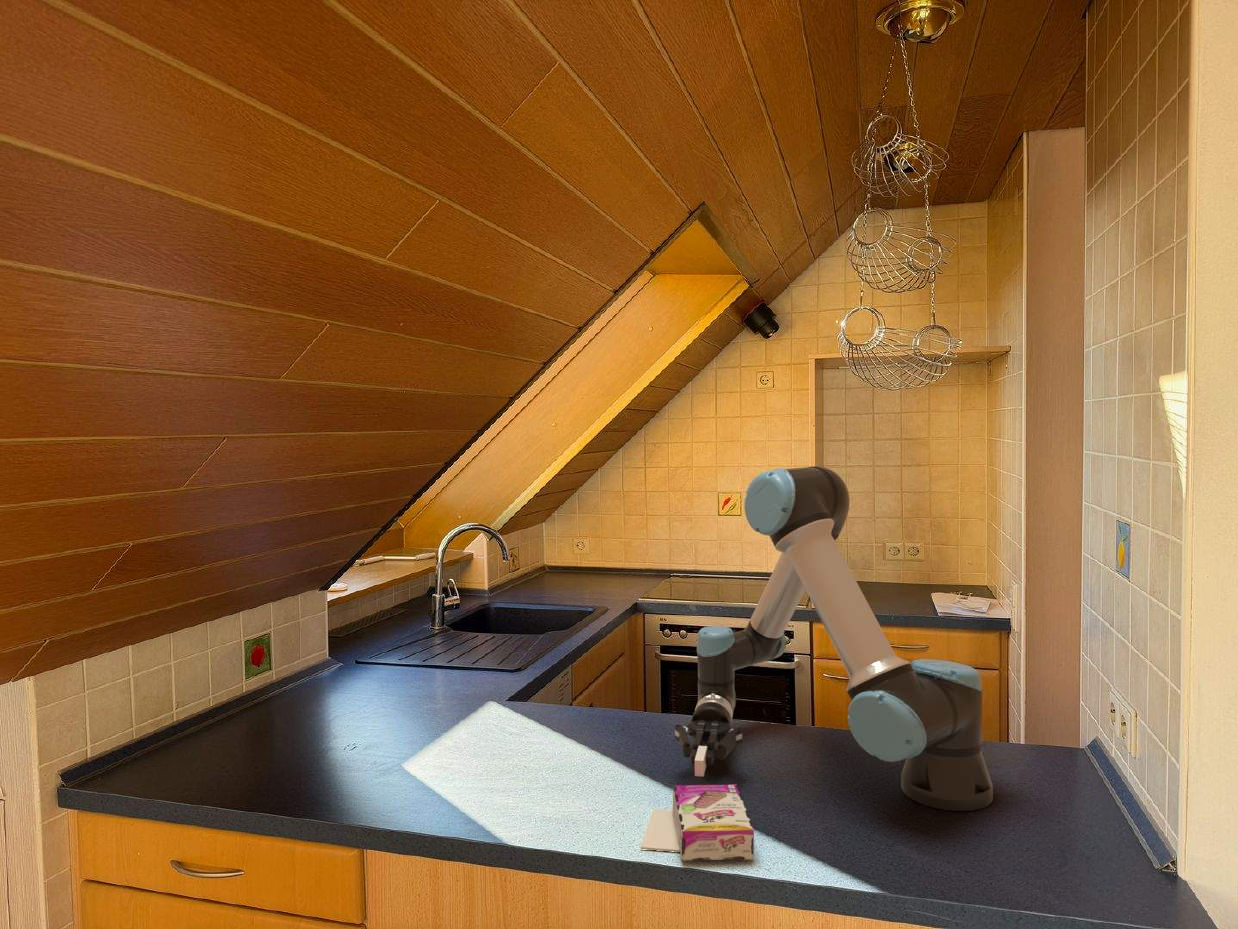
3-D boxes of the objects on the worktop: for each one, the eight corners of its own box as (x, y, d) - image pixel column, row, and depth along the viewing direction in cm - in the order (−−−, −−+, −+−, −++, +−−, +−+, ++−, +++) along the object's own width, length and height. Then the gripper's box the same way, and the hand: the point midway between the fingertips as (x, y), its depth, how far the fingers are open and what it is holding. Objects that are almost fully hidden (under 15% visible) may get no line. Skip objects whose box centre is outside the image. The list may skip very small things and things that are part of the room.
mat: (653, 812, 144) (653, 809, 144) (748, 818, 141) (748, 815, 141) (640, 850, 131) (640, 847, 131) (744, 858, 128) (744, 855, 128)
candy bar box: (737, 781, 143) (756, 829, 126) (736, 810, 143) (755, 861, 127) (671, 782, 142) (681, 830, 126) (671, 811, 143) (681, 863, 126)
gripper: (678, 699, 167) (660, 744, 144) (745, 702, 164) (737, 748, 141) (679, 736, 167) (661, 787, 144) (745, 740, 164) (738, 792, 141)
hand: (699, 768), depth 142 cm, fingers closed
